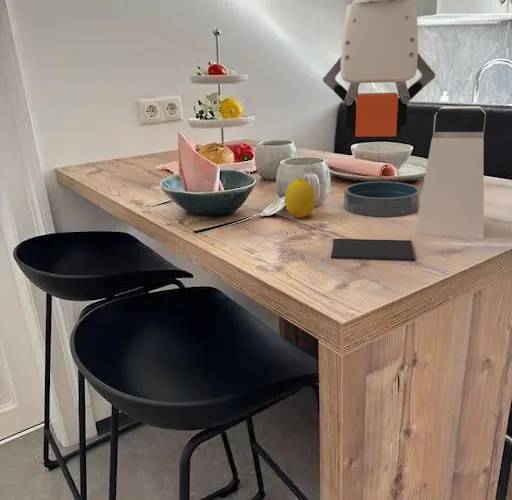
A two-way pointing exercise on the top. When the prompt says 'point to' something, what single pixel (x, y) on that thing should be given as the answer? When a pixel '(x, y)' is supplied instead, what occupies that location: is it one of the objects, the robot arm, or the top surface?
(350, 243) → the mat
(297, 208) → the lemon
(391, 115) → the cube
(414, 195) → the bowl
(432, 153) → the grater
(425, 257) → the top surface
